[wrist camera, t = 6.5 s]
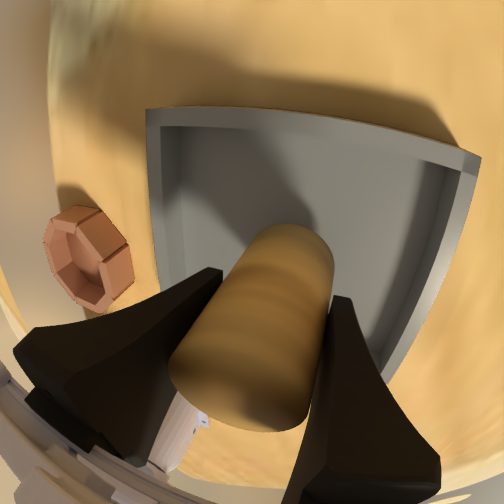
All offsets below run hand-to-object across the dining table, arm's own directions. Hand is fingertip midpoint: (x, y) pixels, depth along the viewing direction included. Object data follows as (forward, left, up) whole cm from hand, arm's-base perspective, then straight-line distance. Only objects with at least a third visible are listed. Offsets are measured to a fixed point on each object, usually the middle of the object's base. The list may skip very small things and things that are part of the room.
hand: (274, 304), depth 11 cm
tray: (0, 0, -5) cm, 5 cm away
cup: (-4, +15, -5) cm, 16 cm away
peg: (0, 0, -3) cm, 3 cm away
